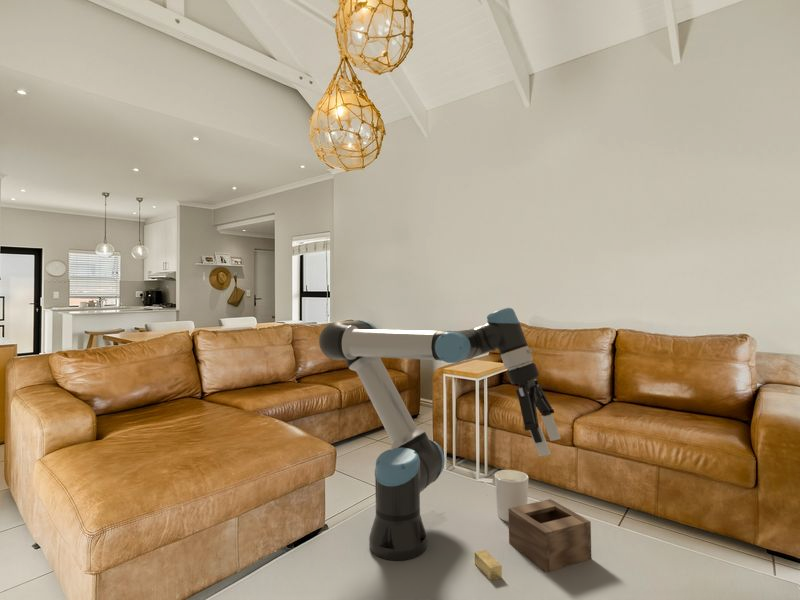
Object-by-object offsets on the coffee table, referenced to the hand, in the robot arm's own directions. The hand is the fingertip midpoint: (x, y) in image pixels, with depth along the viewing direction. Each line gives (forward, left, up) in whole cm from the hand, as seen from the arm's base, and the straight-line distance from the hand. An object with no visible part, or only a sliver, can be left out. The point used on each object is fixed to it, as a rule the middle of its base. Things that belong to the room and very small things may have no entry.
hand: (550, 447), depth 109 cm
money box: (0, +2, -26) cm, 27 cm away
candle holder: (+3, +21, -27) cm, 34 cm away
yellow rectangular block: (-19, +1, -27) cm, 33 cm away
